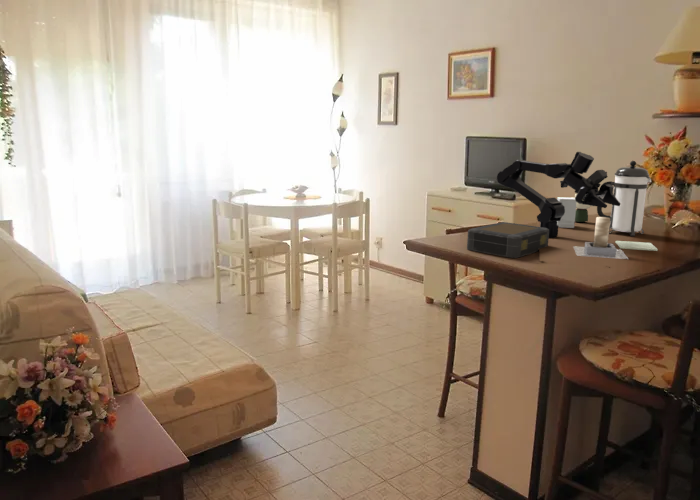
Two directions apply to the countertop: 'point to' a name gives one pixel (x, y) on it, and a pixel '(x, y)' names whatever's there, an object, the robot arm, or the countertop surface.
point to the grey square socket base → (600, 251)
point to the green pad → (636, 245)
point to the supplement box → (567, 212)
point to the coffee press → (628, 199)
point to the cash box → (507, 239)
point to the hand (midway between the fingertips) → (613, 205)
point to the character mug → (581, 212)
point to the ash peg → (601, 232)
